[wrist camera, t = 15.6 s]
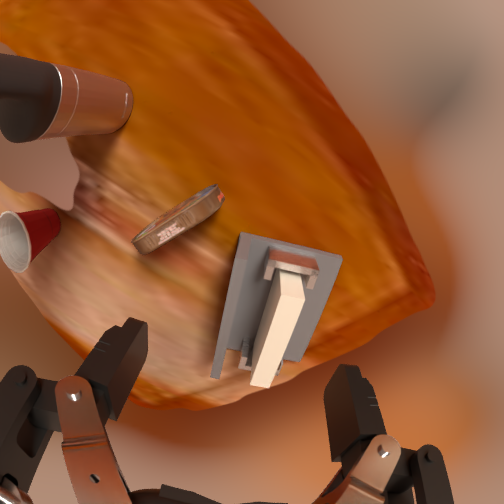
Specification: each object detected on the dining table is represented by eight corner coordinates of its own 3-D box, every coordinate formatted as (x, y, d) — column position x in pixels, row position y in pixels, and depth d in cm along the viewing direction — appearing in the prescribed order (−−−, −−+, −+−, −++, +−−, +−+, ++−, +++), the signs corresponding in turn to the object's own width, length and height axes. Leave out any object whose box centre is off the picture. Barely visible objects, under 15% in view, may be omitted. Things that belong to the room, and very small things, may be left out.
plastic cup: (68, 195, 42) (23, 214, 31) (72, 250, 46) (34, 279, 35) (32, 192, 42) (-10, 210, 31) (37, 243, 46) (0, 266, 35)
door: (253, 343, 49) (249, 384, 40) (279, 259, 42) (281, 294, 33) (275, 347, 49) (275, 389, 40) (304, 265, 42) (312, 301, 33)
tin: (221, 178, 40) (209, 188, 32) (232, 197, 41) (222, 211, 33) (143, 227, 43) (119, 246, 36) (154, 242, 44) (132, 264, 36)
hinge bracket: (217, 340, 51) (208, 376, 42) (240, 231, 42) (233, 257, 34) (299, 356, 51) (302, 393, 43) (340, 255, 43) (356, 284, 34)
